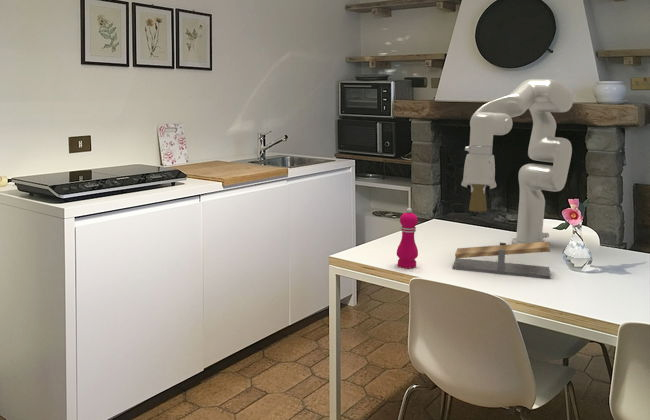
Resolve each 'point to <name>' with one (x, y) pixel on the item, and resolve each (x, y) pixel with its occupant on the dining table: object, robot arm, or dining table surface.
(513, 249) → the beam
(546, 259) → the dining table surface
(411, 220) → the pepper mill
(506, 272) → the stand
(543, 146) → the robot arm
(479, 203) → the cork
